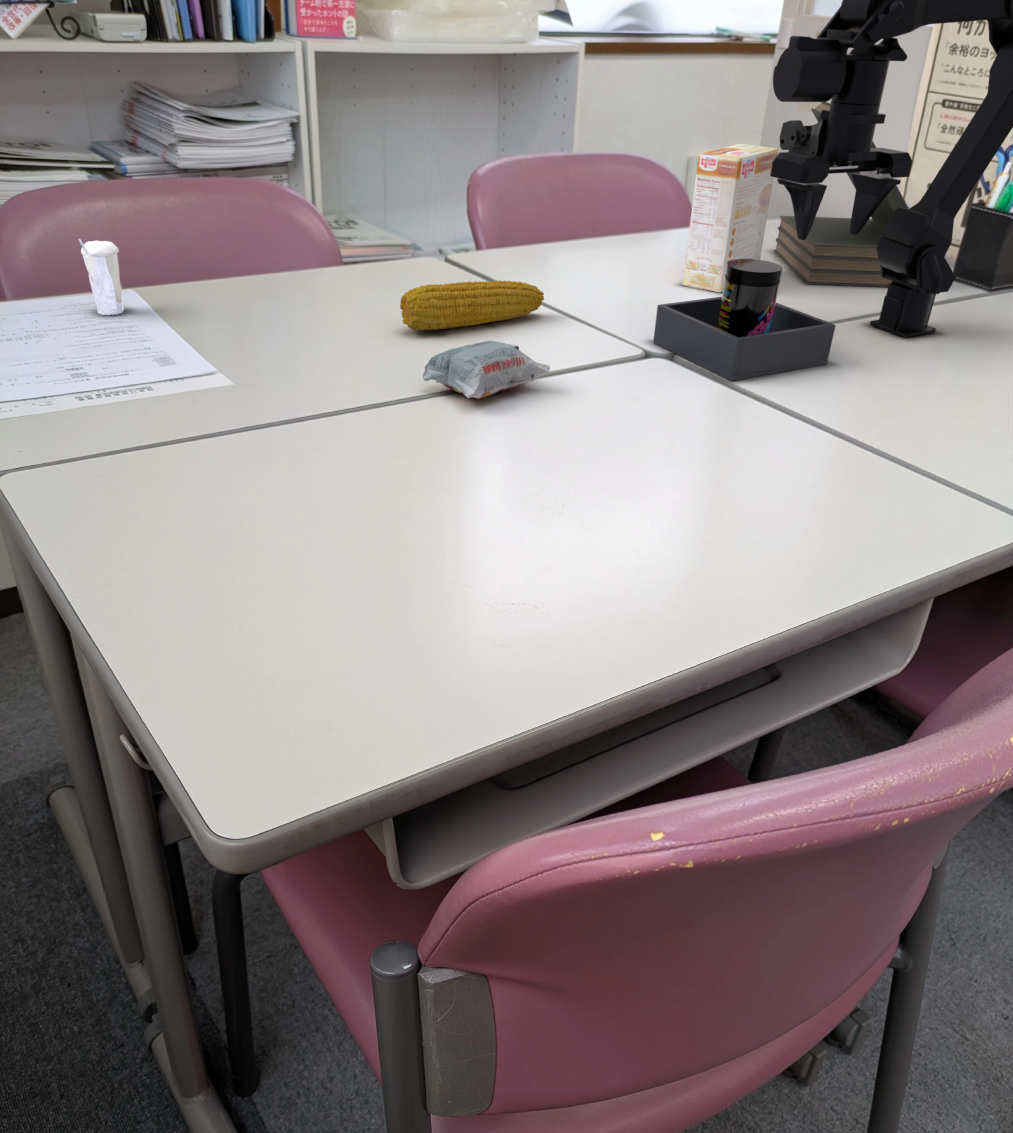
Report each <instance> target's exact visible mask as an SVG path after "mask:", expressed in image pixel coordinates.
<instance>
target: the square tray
mask: <svg viewBox="0 0 1013 1133" xmlns="http://www.w3.org/2000/svg"><path fill="white" fill-rule="evenodd" d="M721 299H722V296H716V297H709V298H708V297H707V298H701V299H699V298H698V299H691V300H685V301H678V302H671V303H662V304H657V308H656V315H655V316H656V317H655V325H654V333H653V340H652V342H653V344H655V345H656V346H659V347H661V348H663V349H664V350H667V351H670V352H671V353H673V354H675V355H677V356H679V357H682V358H684V359H686V360H687V361H689V362H691V363H694V364H695V365H697V366H700V367H701V368H703V369H705V370H708V371H710V372H712V373H714V374H716V375H718V376H720V377H722V378H724V379H725V380H728V381H730V382H734V381H739V380H745V379H750V378H756V377H762V376H768V375H774V374H780V373H784V372H789V371H795V370H801V369H808V368H812V367H817V366H823V365H827V364H828V362H829V357H830V352H831V349H832V343H833V339H834V336H835V330H836V324H835V323H831V322H829V321H827V320H824V319H821V318H819V317H816V316H813V315H811V314H809V313H805V312H802V311H800V310H797V309H794V308H792V307H789V306H787V305H784V304H782V303H778V302H776V305H775V311H774V316H773V321H772V327H771V332H770V333H765V334H758V335H752V336H745V337H736V336H734V335H732V334H729V333H727V332H725V331H722V330H720V329H718V328H717V325H718V319H719V312H720V306H721Z"/></svg>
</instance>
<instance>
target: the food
mask: <svg viewBox="0 0 1013 1133" xmlns="http://www.w3.org/2000/svg"><path fill="white" fill-rule="evenodd" d="M543 301H545V296H544V292H543V291H541V290H540V289H539V287H537V285H533V284H530V283H528V282H523V281H516V280H515V281H513V280H492V281H487V280H484V281H476V280H475V281H470V280H469V281H460V282H456V283H455V282H450V283H449V282H448V283H444V284H425V285H420V286H418V287H414V288H412V289H409V290H408V291H407V292H406V291H405V292H404V294H403V295H402V296H401V297H400V305H399V307H400V310H401V312H400V313H401V317H402V324H404V325H407V327H408V328H409V329H411V330H415V331H417V330H419V331H432V330H434V331H436V330H447V329H454V328H456V329H457V328H462V327H465V328H466V327H471V326H478V325H482V324H487V323H488V324H489V323H493V322H494V323H495V322H496V323H497V322H500V321H506V320H512V319H515V318H516V319H517V318H518V317H519V318H522V317H524V316H528V315H529V314H530V313H532V312H535V311H537V310H539V308H541V305H542V304H543Z"/></svg>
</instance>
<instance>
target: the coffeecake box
mask: <svg viewBox="0 0 1013 1133" xmlns="http://www.w3.org/2000/svg"><path fill="white" fill-rule="evenodd" d="M778 154H779V148H778V147H770V146H763V145H758V144H757V145H756V144H752V143H751V144H750V143H737V144H732V145H729V146H724V147H720V148H714V149H711V150H707V151H702V152H698V153H697V163H696V172H695V181H694V188H693V196H692V205H691V212H690V220H689V229H688V238H687V245H686V253H685V260H684V269H683V277H682V283H681V284H682V286H685V287H689V288H694V289H699V290H700V289H701V290H706V291H710V292H711V291H712V292H715V293H723V286H724V280H725V272H726V265H727V262H728V261H730V260H735V259H757V260H761V255H762V251H763V250H762V249H763V244H764V238H765V231H766V226H767V218H768V213H769V207H770V200H771V194H772V188H773V182H774V177H771V176H770V174H771V168H772V162H773V159H774V158H775V157H776V156H777V155H778Z"/></svg>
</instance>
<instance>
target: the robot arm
mask: <svg viewBox="0 0 1013 1133" xmlns="http://www.w3.org/2000/svg"><path fill="white" fill-rule="evenodd" d="M979 21H987V24H988V42H989V44H990V45H991V47H992V49H993V51H994V53H995V55H996V56H995V58H994V60H993V62H992V64H991V65H990V68H989V74H988V83H987V84H988V85H987V93H986V95H985V97H984V99H983V100H982V102H981V103H980V105H979V106H978V108H977V110H976V112H975V113H974V114H973V116H972V117H971V119H970V121H969V122H968V125H966V127H965V128H964V130H963V132H962V134H961V135H960V137H959V138H958V140H957V142H956V143H955V145H954V146H953V148H952V149H951V151H950V153H949V154H948V156H947V157H946V159H945V161H944V162H943V164H942V165H941V167H940V169H939V170H938V172H937V173H936V175H935V177H934V178H933V179H932V181H931V183H930V184H929V186H928V188H927V189H926V191H925V193H924V194H923V196H922V197H921V198H920V200H918V202H917V203H915V204H913V205H912V206H911V207H909V209H905V208H901V207H898V208H897V209H896V210H895V211H894V213H893V215H892V217H891V219H890V221H889V223H888V224H887V226H886V227H885V228H884V229H883V230H882V231H881V232H880V233H879V235H880V236H882V237H881V239H880V241H879V243H878V245H877V249H876V251H877V253H878V260H879V263H880V271H881V277H882V278H886V279H888V280H891V281H892V283H890V284H889V286H888V287H887V289H886V294H885V295H884V298H883V302H882V306H881V310H880V314H879V317H878V319H874V320H870V322H869V325H870V326H873V327H875V328H878V329H881V330H883V331H886V332H889V333H891V334H894V335H898V336H900V337H903V338H909V337H915V336H921V335H926V334H932V333H936V331H937V327H934V326H931V325H929V323H930V322H929V321H930V318H931V313H932V311H933V307H934V303H935V299H936V296H937V295H940V294H941V293H947V292H949V291H950V289H951V287H952V285H953V283H954V282H955V280H956V274H955V272H954V271H953V269H952V268H951V266H950V264H949V262H948V260H947V258H946V254H948V251H949V249H950V247H951V244H952V242H953V235H954V226H955V224H954V223H955V218H956V216H957V215H958V213H959V212H960V210H961V209H962V207H963V206H964V204H965V202H966V201H967V199H968V198H969V196H970V194H971V193H972V192H973V190H974V188H975V187H976V185H977V184H978V182H979V181H980V179H981V177H982V176H983V174H984V173H985V171H986V170H987V169H988V167H989V165H990V163H991V162H992V160H993V159H994V157H995V156H996V155H997V153H998V151H999V150H1000V148H1001V146H1002V145H1003V143H1004V142H1005V141H1006V139H1007V137H1008V135H1009V134H1010V133H1011V131H1012V129H1013V0H842V1H841V4H840V7H838V9H837V11H836V12H835V13H834V15H833V16H832V17H831V18H830V20H828V22H827V23H826V25H825V26H824V28H823V29H822V30H821V31H820V32H819V34H818V36H817V37H816V38H814V37H811V36H805V35H804V36H803V35H791V36H790V37H789V39H788V40H789V41H788V46H787V47H786V49H785V50H783V52H782V53H781V54H780V56H779V58H778V61H777V63H776V66H774V68H773V74H772V87H773V88H772V89H773V92H774V96H775V97H776V98H777V101H779V102H781V103H821V102H827V103H828V102H829V101H830V109H829V110H822V112H821V113H820V114H819V119H818V121H817V123H815V124H810V125H804V124H803V121H802V120H800V119H797V120H796V119H795V120H791V119H790V120H788V121H785V122H783V123H782V125H781V130H780V134H779V147H780V149H781V150H782V151H781V152H778V153H777V156H776V157H775V158H774V159H773V162H772V168H771V174H770V176H771V177H773V178H777V179H776V181H777V184H778V185H782V186H784V188H785V189H786V191H787V192H788V194H789V196H790V200H791V205H792V210H793V216H794V217H795V223H796V230H797V237H798V239H800V240H806V238H807V236H808V234H809V232H810V230H811V227H812V225H813V222H814V219H815V217H817V215H818V211H819V209H820V206H821V204H822V202H823V198H824V195H825V193H826V190H827V187H828V185H826V184H822V183H823V182H824V181H825V180H826V179H827V177H828V176H829V174H832V175H833V174H847V173H850V172H860V173H858V174H851V176H852V179H853V181H854V184H855V187H856V189H855V193H854V194H855V195H854V200H853V206H852V212H851V217H850V218H851V224H850V234H853V235H858V234H859V232H860V231H861V229H862V228H863V227H864V225H865V224H866V223H867V221H868V220H869V219H871V216H872V214H873V213H874V212H875V210H876V209H877V208H878V206H879V205H880V204H881V202H882V201H883V200H884V199H885V198H886V196H887V195H888V194H889V193H890V192H891V190H892V189H893V188H894V187H895V186H896V185H897V186H898V185H900V184H901V182H902V180H901V179H898V178H909V177H910V173H911V169H912V166H913V159H912V157H911V155H910V153H909V152H908V151H904V150H903V151H901V150H898V149H891V148H886V147H876V148H871V145H872V140H873V141H874V135H875V131H876V126H877V125H880V124H881V125H882V124H884V125H885V121H886V117H887V114H885V113H880V108H881V103H882V98H883V94H884V89H885V84H886V81H887V75H888V71H889V66H890V62H905V61H907V59H908V54H907V53H906V51H905V50H904V48H902V46H901V45H900V43H899V39H898V38H897V37H900V36H903V35H907V34H909V33H912V32H914V31H916V30H918V29H920V28H923V27H925V26H929V25H939V24H950V23H951V24H952V23H965V22H966V23H967V22H979ZM879 41H880V42H879ZM878 42H879V43H878ZM877 43H878V44H877ZM849 49H851V50H850V52H849V53H848V51H849ZM849 164H850V165H849ZM851 164H852V165H851ZM855 187H854V188H855Z"/></svg>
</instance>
